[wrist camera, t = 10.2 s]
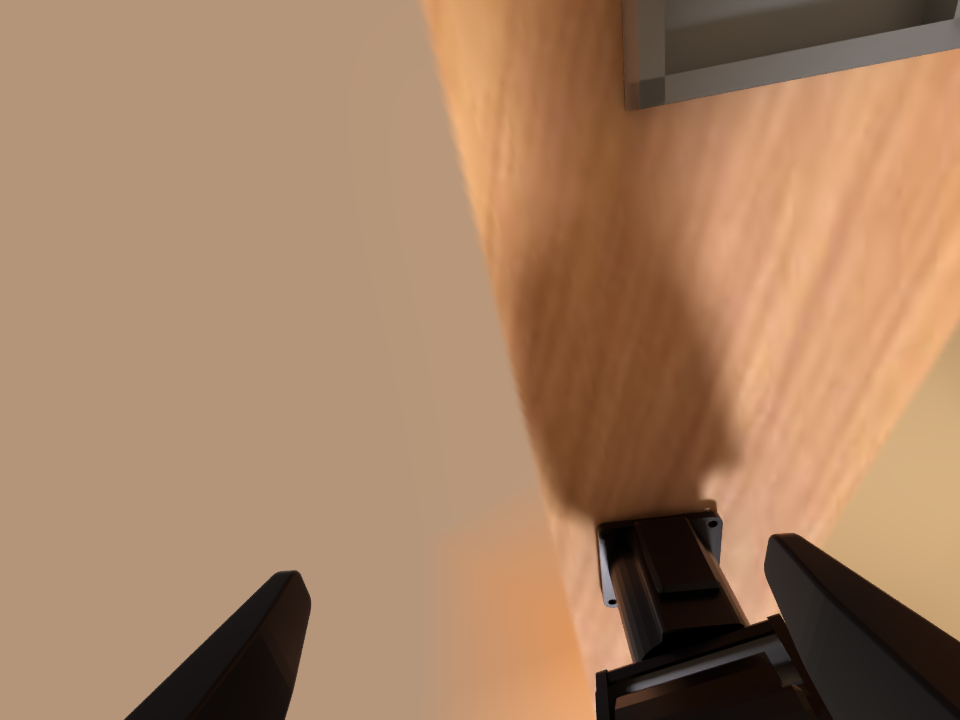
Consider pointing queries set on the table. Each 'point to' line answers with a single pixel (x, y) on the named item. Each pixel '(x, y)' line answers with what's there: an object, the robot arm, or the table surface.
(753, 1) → the tray
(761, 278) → the table surface
